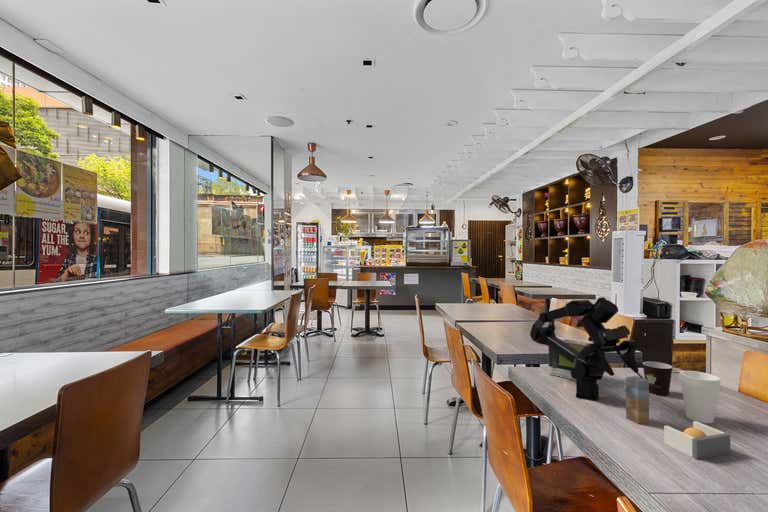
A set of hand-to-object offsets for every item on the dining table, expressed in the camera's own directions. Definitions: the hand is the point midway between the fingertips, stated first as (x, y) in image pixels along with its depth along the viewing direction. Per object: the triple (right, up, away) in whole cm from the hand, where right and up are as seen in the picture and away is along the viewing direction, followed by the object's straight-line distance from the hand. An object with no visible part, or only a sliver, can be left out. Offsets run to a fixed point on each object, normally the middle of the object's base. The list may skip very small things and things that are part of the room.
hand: (625, 373), depth 114 cm
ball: (+5, -10, -20) cm, 23 cm away
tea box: (+2, -13, +37) cm, 39 cm away
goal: (+5, -12, -20) cm, 24 cm away
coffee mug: (+23, -13, +20) cm, 33 cm away
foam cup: (+20, -13, -3) cm, 24 cm away
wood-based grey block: (+1, -13, -4) cm, 13 cm away
